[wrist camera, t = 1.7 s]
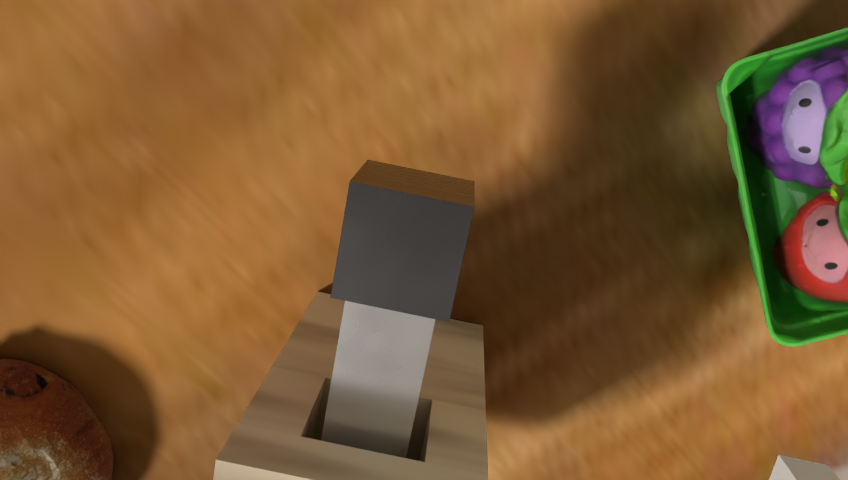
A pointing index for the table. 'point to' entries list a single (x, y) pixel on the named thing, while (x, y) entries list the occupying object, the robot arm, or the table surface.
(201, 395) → the table surface
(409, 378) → the shaft
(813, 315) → the fruit basket
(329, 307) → the light wood tall block
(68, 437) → the brown rounded lump
